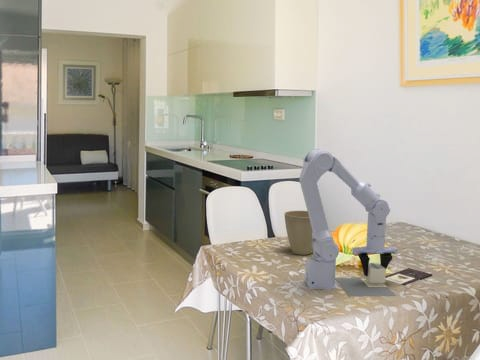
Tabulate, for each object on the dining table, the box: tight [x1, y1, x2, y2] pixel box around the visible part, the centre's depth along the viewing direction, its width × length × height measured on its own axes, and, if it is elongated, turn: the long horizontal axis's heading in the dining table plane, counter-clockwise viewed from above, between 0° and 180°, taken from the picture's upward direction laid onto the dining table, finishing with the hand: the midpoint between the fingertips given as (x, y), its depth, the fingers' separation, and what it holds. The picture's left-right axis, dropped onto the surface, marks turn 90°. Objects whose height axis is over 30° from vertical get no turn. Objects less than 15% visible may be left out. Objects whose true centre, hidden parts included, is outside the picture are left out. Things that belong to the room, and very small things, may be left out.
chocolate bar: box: [385, 267, 433, 286], centre depth 169 cm, size 9×1×18 cm
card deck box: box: [362, 262, 387, 284], centre depth 161 cm, size 7×5×5 cm
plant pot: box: [283, 210, 313, 256], centre depth 197 cm, size 15×15×16 cm
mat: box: [335, 277, 397, 298], centre depth 158 cm, size 15×17×1 cm
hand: (373, 275), depth 161 cm, fingers closed on card deck box, 5 cm apart
